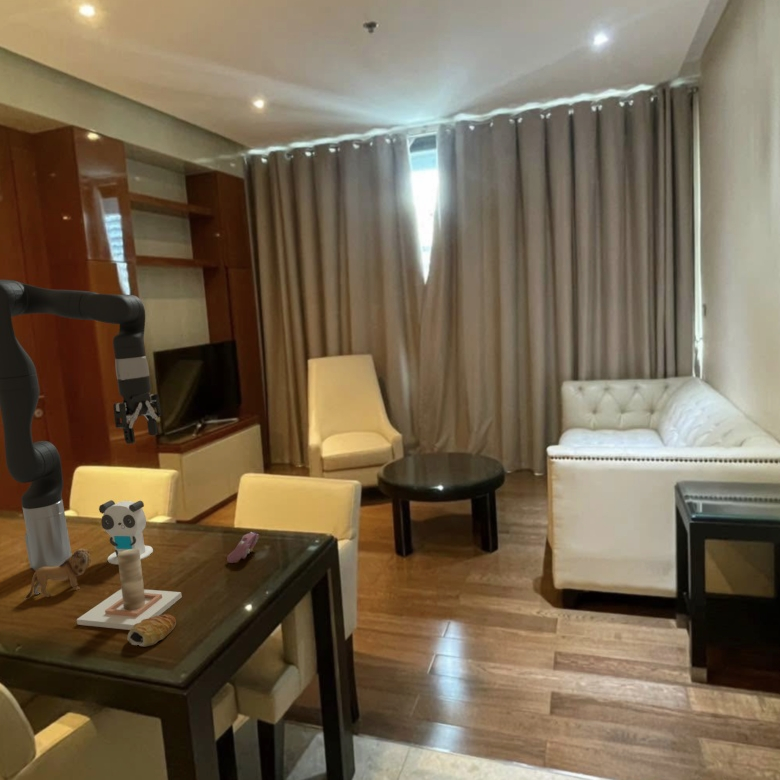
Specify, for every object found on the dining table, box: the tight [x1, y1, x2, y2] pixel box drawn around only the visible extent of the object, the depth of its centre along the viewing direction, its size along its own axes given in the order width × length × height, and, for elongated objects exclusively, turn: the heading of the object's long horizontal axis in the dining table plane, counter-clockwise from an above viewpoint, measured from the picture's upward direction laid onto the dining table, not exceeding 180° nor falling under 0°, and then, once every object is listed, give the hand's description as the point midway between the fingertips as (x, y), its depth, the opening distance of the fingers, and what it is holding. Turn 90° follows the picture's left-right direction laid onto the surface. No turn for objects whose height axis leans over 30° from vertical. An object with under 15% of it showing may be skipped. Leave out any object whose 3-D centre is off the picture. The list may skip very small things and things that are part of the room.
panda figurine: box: [98, 499, 154, 565], centre depth 161 cm, size 12×11×15 cm
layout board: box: [76, 588, 183, 631], centre depth 131 cm, size 16×14×2 cm
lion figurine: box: [25, 548, 92, 599], centre depth 143 cm, size 15×5×9 cm, turn 121°
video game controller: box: [226, 531, 260, 564], centre depth 156 cm, size 10×5×7 cm, turn 170°
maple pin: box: [117, 549, 145, 610], centre depth 130 cm, size 4×4×12 cm
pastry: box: [126, 613, 177, 648], centre depth 121 cm, size 9×7×4 cm
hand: (142, 438), depth 151 cm, fingers open, 8 cm apart
